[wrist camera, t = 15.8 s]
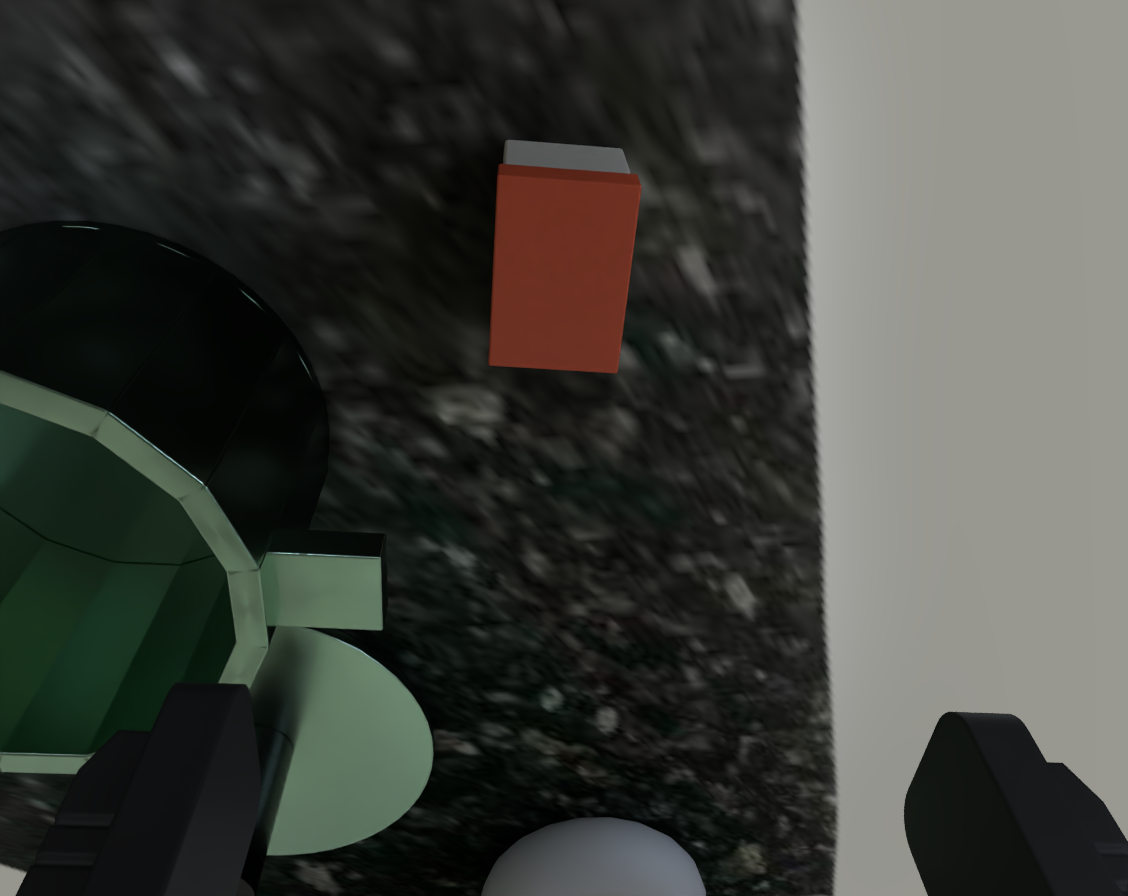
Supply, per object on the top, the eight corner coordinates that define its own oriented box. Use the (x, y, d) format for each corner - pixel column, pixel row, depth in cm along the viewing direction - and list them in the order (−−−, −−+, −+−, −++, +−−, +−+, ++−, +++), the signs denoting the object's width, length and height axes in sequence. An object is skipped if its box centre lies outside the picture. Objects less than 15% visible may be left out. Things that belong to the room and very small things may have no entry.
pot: (-258, 196, 25) (-577, 330, 18) (414, 243, 26) (371, 386, 19) (-115, 560, 32) (-305, 764, 24) (415, 583, 33) (383, 784, 26)
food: (501, 134, 25) (497, 174, 21) (627, 144, 25) (641, 185, 22) (493, 307, 27) (488, 366, 24) (607, 315, 28) (617, 374, 24)
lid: (49, 587, 32) (-60, 751, 26) (438, 604, 33) (418, 765, 27) (116, 829, 40) (42, 1000, 34) (434, 836, 41) (418, 1005, 35)
